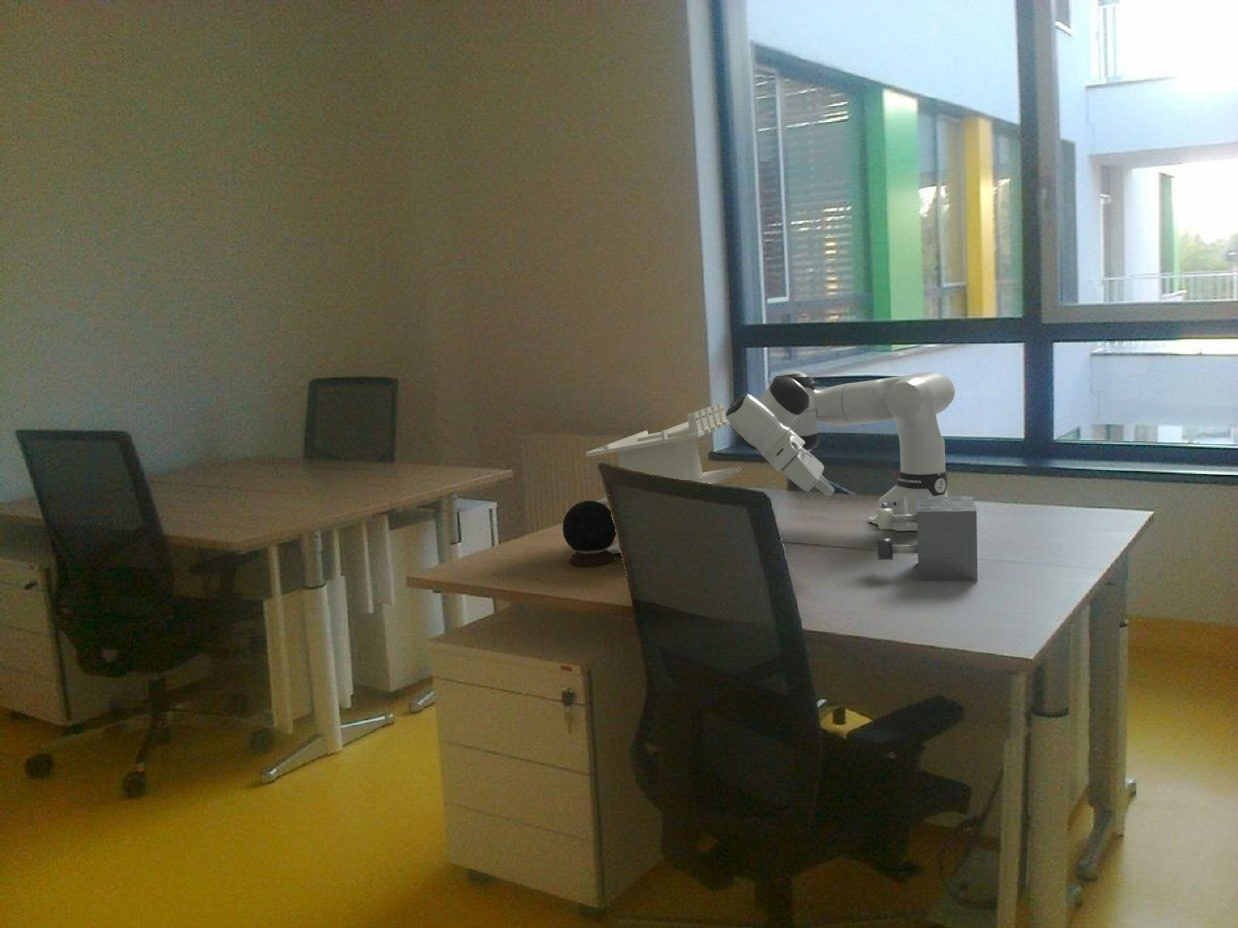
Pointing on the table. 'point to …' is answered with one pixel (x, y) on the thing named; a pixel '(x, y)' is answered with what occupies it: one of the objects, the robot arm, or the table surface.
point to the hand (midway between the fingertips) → (832, 493)
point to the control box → (947, 539)
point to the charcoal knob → (893, 549)
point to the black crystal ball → (589, 534)
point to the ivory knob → (893, 518)
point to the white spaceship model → (670, 451)
